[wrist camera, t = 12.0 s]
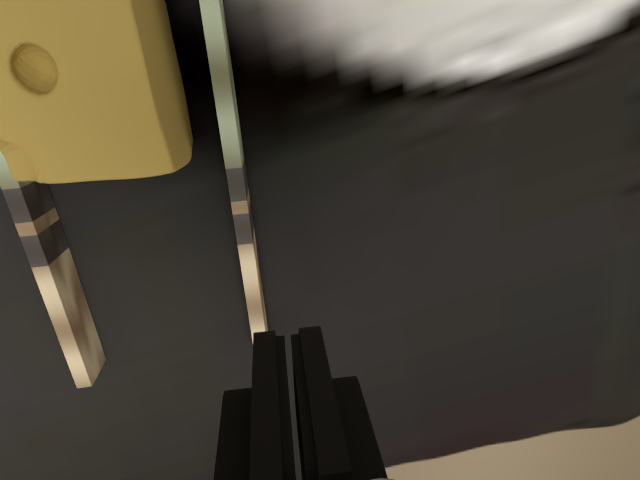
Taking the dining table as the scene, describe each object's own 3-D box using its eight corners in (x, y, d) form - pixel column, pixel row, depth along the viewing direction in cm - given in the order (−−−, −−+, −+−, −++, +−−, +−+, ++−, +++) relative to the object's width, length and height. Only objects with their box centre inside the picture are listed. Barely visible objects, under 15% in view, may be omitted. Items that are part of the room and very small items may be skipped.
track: (-46, -34, 26) (-104, -54, 22) (216, -45, 27) (208, -66, 23) (92, 361, 38) (72, 396, 34) (269, 338, 40) (269, 369, 35)
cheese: (65, 163, 31) (-16, 201, 22) (12, 3, 27) (-116, -33, 18) (203, 148, 32) (179, 178, 23) (171, -10, 28) (127, -49, 19)
